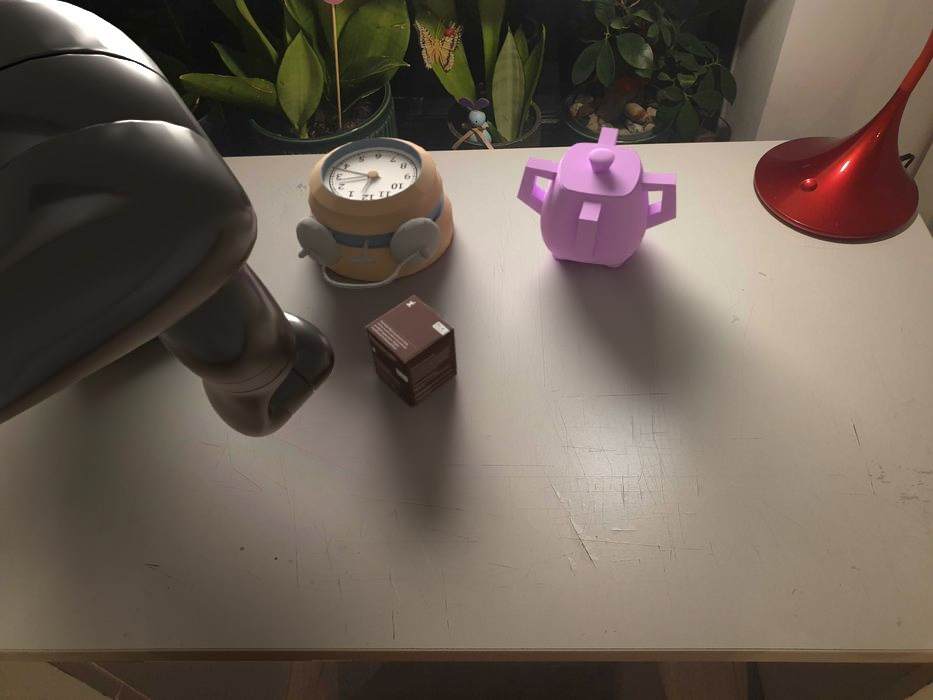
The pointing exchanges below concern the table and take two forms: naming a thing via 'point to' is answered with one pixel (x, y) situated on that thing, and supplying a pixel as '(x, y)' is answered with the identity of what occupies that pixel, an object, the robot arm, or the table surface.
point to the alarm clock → (376, 212)
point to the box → (413, 350)
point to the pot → (597, 201)
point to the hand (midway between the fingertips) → (82, 212)
